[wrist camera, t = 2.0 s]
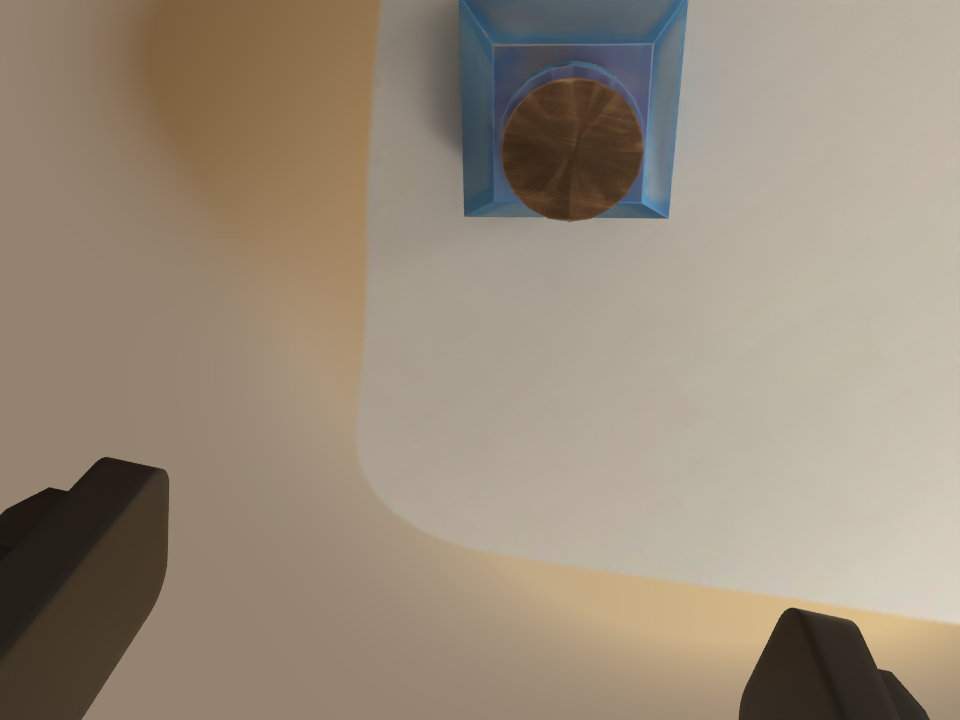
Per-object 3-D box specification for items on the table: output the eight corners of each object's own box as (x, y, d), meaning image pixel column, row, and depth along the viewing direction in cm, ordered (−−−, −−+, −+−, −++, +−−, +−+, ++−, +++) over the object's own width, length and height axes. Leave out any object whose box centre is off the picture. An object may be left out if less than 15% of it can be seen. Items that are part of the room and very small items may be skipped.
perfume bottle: (481, 171, 30) (438, 281, 19) (479, -9, 27) (427, 1, 17) (647, 172, 29) (698, 285, 19) (661, -12, 27) (730, -3, 16)
